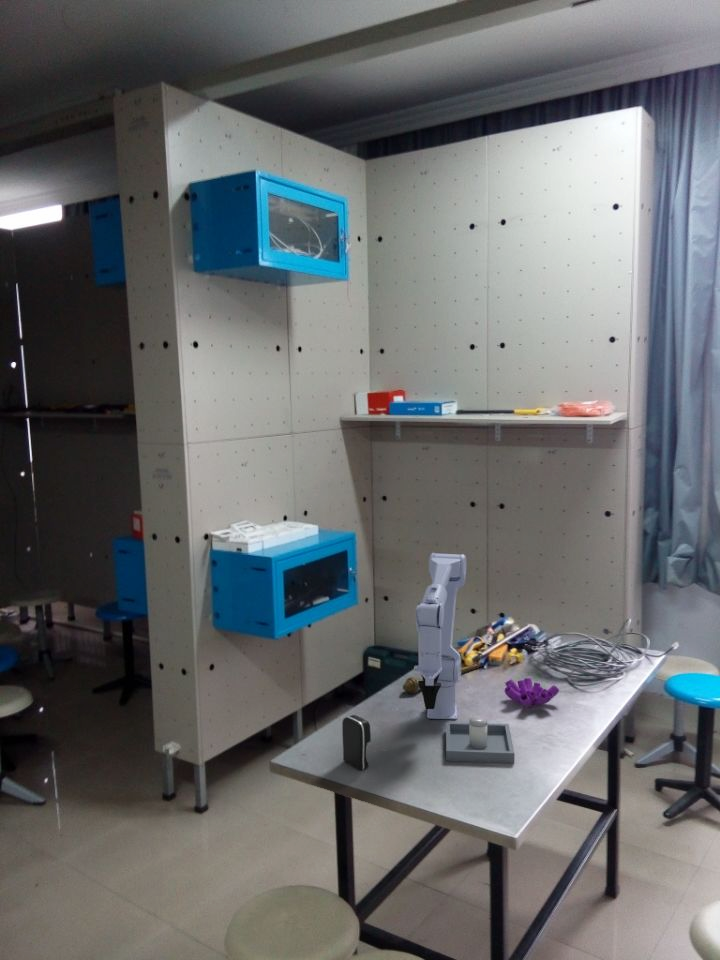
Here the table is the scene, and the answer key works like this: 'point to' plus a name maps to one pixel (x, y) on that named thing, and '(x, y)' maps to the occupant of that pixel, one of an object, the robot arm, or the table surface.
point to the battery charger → (355, 741)
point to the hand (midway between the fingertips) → (430, 702)
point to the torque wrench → (412, 683)
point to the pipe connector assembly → (529, 692)
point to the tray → (495, 751)
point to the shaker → (478, 732)
